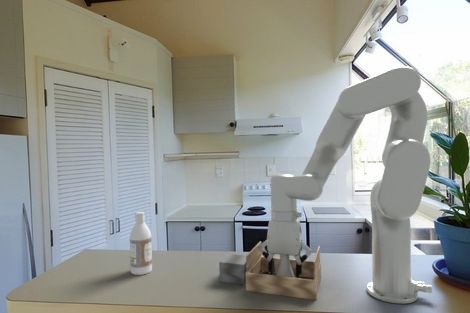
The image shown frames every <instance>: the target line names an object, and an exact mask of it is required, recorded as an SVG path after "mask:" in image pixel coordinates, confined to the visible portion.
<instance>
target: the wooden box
mask: <svg viewBox="0 0 470 313" xmlns="http://www.w3.org/2000/svg"><path fill="white" fill-rule="evenodd" d="M261 244H262V241H261V240H260V241H259V242H257V244H255V246H254V247H253V248H252V249H251V250H250V251H249V252H248V253H247V255H245V256H246V283H245V291H247V292H254V293H261V294H262V293H263V294H268V295H269V294H270V295H278V296H284V297H293V298H299V299H306V300H313V301H314V300H315V301H317V298H318V293H319V288H320V285H321V280H322V262H321V246H320V245H318V247H317V250H316V252H315V256H314V258H313V260H308V259H306V260H305V261H304V262H303V263H302V274H300V276H299V278H296V263H297V261H296V259H295V258H289V260H290V264H291V267H292V270H293V273H294V276H295V278H293V277H284V276H275V275H276V272H277V269H278V266H279V262H280V257H276V256H273V259H274V265H275V272H274V273H273V275H270V271H268V261H267V259H266V258H265V257H264V256H263V255H262V253H261V252H260V250H259V249H258V246H259V245H261ZM265 273H268V274H265ZM301 277H304V278H301ZM308 278H313V279H308Z"/></svg>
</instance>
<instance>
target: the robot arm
mask: <svg viewBox="0 0 470 313" xmlns="http://www.w3.org/2000/svg"><path fill="white" fill-rule="evenodd" d="M421 83H422V79H421V76H420V74H419V72H418V71H417V70H416V69H415V68H413V67H411V66H406V65H405V66H404V65H401V66H396V67H393V68H390V69H388V70H385V71H383V72H380V73H378V74H376V75H374V76H371V77H369V78H366V79H364V80H362V81H358V82H357V83H354V84H351V85H349V86H346V88H344V89H343V90H342V91H341V92H340V94H339V96H338V98H337V102H336V103H335V104H334V107H333V109H332V111H331V113H330V115H329V117H328V119H327V121H326V123H325V124H324V126H323V128H322V129H321V130H322V131H321V132H320V134H319V135H318V138H317V140H316V143H315V147H314V149H313V152H312V154H311V156H310V158H309V160H308V162H307V164H306V166H305V168H304V170H303V172H302V173H301V175H296V176H295V175H293V174H289V173H278V174H274V175H272V176H271V178H270V211H271V212H270V213H271V214H270V216H271V218H270V219H269V220H268V221H269V222H268V225H267V226H268V227H267V234H266V235H267V236H266V240H265V241H263V242H261V245H259V246H258V249H259V250H260V252H261V253H262V256H264V257H265V258H266V259H267V261H268V271H270V273H269V275H274V274H275V273H274V272H275V265H274V259H273V257H275V256H274V255H279V256H280V255H289V257H290V256H292V257H294V259H296V261H297V263H296V276H295V278H300V277H301V276H300V274H302V263H303V262H304V261H305V260H308V258H309V257H310V256H311V255H312V254H313V249H312V248H311V247H309V246H308V245H307V244H306V243H304V242H303V233H302V225H301V221H300V219H298V218H302V216H303V213H302V212H299V211H298V209H297V206H298V205H297V201H298V200H299V201H305V202H312V201H313V202H314V201H316V200H318V199H319V198H320V197H321V196H322V194H323V192H324V191H323V189H324V186H325V185H326V183H327V181H328V179H329V177H330V175H331V174H332V171H333V170H334V167H335V166H336V165H337V163H338V162H339V161H340V159H341V158H343V156H344V154H345V153H346V151H347V150H348V148H349V146H350V144H351V143H352V141H353V139H354V137H355V136H356V133H357V131H358V130H359V128H360V126H361V124H362V122H363V120H364V119H365V117H366V115H368V114H372V113H375V112H377V111H380V110H383V109H386V108H389V110H390V113H391V116H390V117H391V118H390V125H389V130H388V134H387V137H386V142H385V145H384V148H383V152H382V155H381V161H382V164H383V166H384V169H383V174H382V178H381V179H379V180H378V181H377V182H376V183H374V185H373V186H372V188H371V191H370V202H369V203H370V211H371V232H372V233H371V255H372V256H371V257H372V259H371V260H372V262H371V263H372V264H371V265H372V266H371V267H372V280H371V281H369V282H368V283H367V285H366V292H367V293H368V294H369V295H370V296H371V297H373V298H376V299H378V300H380V301H382V302H387V303H392V304H398V305H401V304H403V305H406V304H412V303H414V302H416V301H417V300H418V298H419V292H422V293H428V294H432V293H433V290H432V289H433V287H432V285H431V284H425V282H424V281H415V280H414V279H413V278H412V259H411V258H412V255H411V254H412V252H411V251H412V250H411V248H412V247H411V245H412V244H411V243H412V242H411V240H412V237H411V235H412V233H411V232H412V231H411V229H412V228H411V227H412V226H411V217H412V216H414V215H415V214H416V213H417V211H418V209H419V207H420V204H421V202H422V198H423V194H424V191H425V186H426V183H427V180H428V176H429V171H430V168H431V154H430V152H429V149H428V148H427V146H426V145H425V144H424V143H423V142H424V139H425V138H424V137H425V133H426V128H427V124H428V108H427V105H426V103H425V102H426V101H424V99H423V97H422V96H421V94H420V92H419V90H420V88H421ZM265 247H266V248H265ZM303 250H304V254H303V255H301V253H302V251H303Z"/></svg>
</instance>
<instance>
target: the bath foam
mask: <svg viewBox="0 0 470 313" xmlns="http://www.w3.org/2000/svg"><path fill="white" fill-rule="evenodd" d="M134 217H135V224H134V226H133V227H132V229H131V231H130V233H129V234H130V235H129V252H130V254H129V255H130V261H129V262H130V273H131V274H132V275H134V276H142V275H146V274H149V273H151V272H152V270H153V252H152V250H153V248H152V246H153V245H152V232H151V230H150V229H149V228H150V227H149V226H148V225H147V223H146V222H145V219H146V218H145V211H137V212H135V216H134Z"/></svg>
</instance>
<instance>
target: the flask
mask: <svg viewBox="0 0 470 313" xmlns="http://www.w3.org/2000/svg"><path fill="white" fill-rule="evenodd" d="M279 258H280V262H279V266H278V269H277V272H276V274H274V275H275V276H284V277H293V278H296V276H294V273H293V270H292V267H291V264H290V260H289V259H290V255H279Z"/></svg>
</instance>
